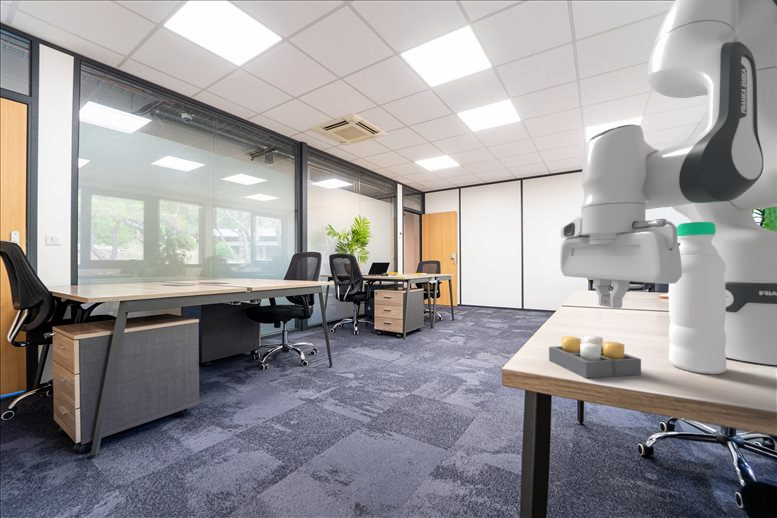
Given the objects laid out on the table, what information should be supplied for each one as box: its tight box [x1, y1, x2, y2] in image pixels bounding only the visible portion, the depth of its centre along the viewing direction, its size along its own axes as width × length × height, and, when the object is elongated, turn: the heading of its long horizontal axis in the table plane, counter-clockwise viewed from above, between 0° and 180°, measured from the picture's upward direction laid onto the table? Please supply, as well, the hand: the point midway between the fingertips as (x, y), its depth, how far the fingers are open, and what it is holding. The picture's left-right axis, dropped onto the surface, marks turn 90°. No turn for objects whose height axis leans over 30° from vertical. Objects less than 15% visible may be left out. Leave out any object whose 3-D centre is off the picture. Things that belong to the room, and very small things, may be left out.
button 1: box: [561, 336, 582, 353], centre depth 57 cm, size 3×3×3 cm
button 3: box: [583, 335, 604, 351], centre depth 58 cm, size 3×3×3 cm
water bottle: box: [668, 221, 727, 375], centre depth 54 cm, size 7×7×25 cm
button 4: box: [603, 341, 625, 360], centre depth 53 cm, size 3×3×3 cm
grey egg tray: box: [548, 345, 642, 379], centre depth 55 cm, size 10×9×2 cm
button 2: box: [580, 342, 601, 361], centre depth 53 cm, size 3×3×3 cm
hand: (610, 306), depth 53 cm, fingers closed
